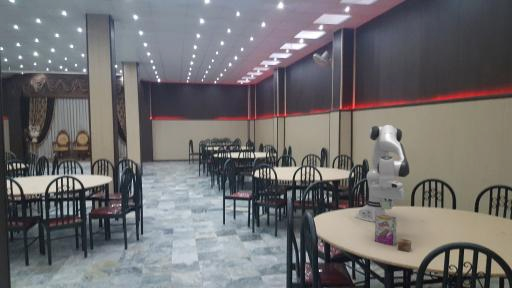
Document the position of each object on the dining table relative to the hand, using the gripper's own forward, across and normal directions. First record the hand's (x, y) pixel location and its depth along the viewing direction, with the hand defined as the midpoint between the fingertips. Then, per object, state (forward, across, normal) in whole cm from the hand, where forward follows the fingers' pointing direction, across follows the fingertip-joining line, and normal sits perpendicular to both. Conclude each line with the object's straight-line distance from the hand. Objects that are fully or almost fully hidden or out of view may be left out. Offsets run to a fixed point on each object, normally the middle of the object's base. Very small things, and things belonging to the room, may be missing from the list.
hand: (386, 206), depth 208 cm
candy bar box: (+23, -1, 0) cm, 23 cm away
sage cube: (+2, 0, 0) cm, 2 cm away
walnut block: (+22, +12, -4) cm, 26 cm away
